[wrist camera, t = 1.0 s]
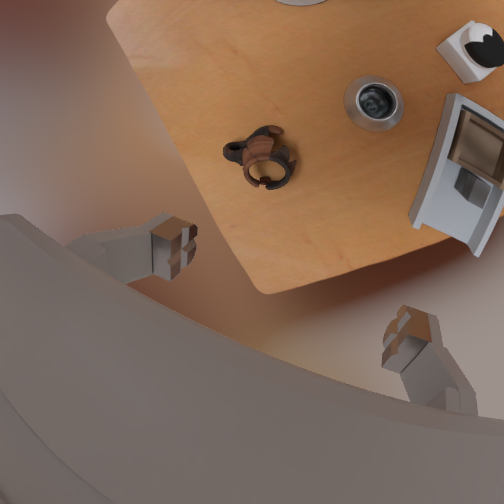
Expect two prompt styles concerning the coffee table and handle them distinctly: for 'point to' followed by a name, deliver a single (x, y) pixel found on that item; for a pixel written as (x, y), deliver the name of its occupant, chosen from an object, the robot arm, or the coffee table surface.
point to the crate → (477, 157)
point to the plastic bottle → (373, 103)
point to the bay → (443, 181)
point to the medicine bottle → (473, 51)
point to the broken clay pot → (260, 156)
